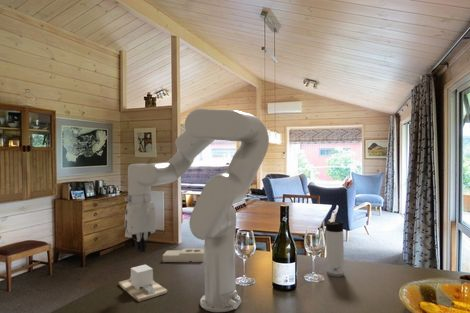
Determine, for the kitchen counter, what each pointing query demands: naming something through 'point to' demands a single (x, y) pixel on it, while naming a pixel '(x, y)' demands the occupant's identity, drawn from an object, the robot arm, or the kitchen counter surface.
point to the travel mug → (334, 249)
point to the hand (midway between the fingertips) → (141, 251)
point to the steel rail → (147, 288)
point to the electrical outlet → (184, 255)
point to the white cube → (141, 276)
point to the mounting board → (141, 294)
